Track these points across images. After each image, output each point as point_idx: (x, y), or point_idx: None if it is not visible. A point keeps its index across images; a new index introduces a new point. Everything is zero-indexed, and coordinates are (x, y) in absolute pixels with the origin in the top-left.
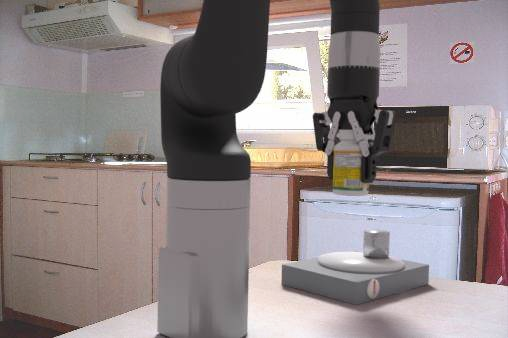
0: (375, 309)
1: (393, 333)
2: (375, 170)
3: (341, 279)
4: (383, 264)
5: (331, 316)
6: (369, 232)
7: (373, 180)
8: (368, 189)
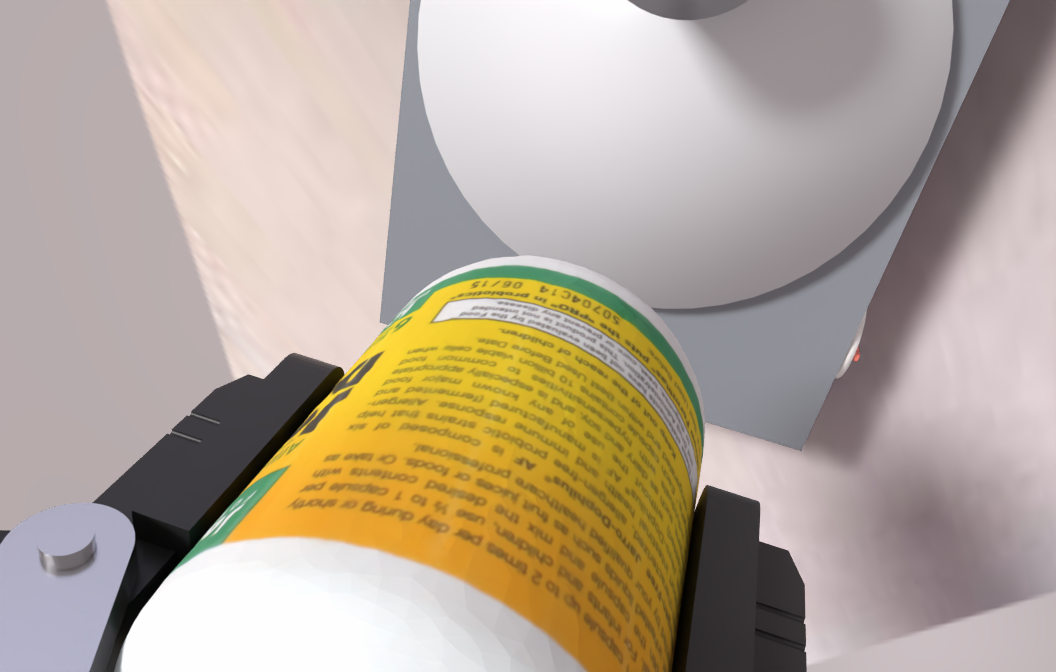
0: (887, 412)
1: (1011, 604)
2: (798, 644)
3: (717, 422)
4: (830, 114)
5: (769, 540)
6: (661, 3)
7: (758, 505)
8: (701, 418)
